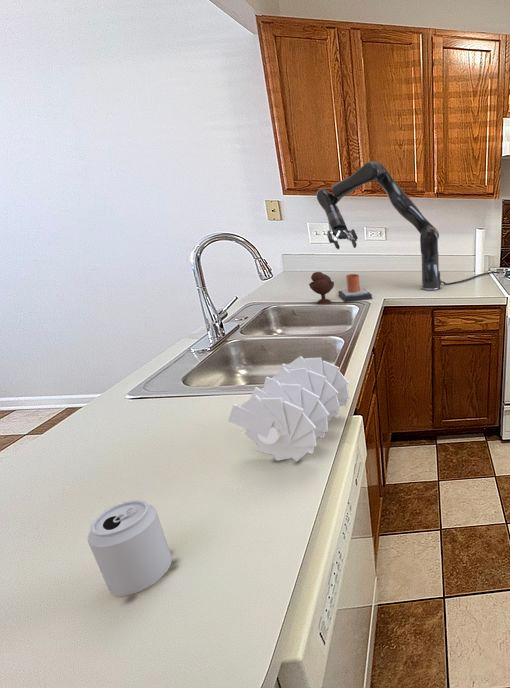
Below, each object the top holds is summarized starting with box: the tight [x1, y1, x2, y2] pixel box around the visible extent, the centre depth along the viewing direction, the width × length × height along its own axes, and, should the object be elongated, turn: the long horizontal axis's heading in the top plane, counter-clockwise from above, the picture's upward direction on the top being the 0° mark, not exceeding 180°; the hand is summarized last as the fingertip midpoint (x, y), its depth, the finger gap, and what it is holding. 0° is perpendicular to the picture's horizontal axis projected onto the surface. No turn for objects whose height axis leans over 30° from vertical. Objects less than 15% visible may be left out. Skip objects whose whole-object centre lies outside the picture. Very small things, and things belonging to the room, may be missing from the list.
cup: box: [345, 273, 361, 293], centre depth 198 cm, size 6×6×8 cm
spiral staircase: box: [227, 355, 350, 462], centre depth 90 cm, size 18×18×25 cm
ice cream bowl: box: [308, 271, 335, 305], centre depth 188 cm, size 11×11×15 cm
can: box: [87, 499, 173, 597], centre depth 58 cm, size 8×8×12 cm
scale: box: [337, 287, 373, 303], centre depth 199 cm, size 13×13×3 cm
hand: (347, 247), depth 201 cm, fingers open, 8 cm apart
